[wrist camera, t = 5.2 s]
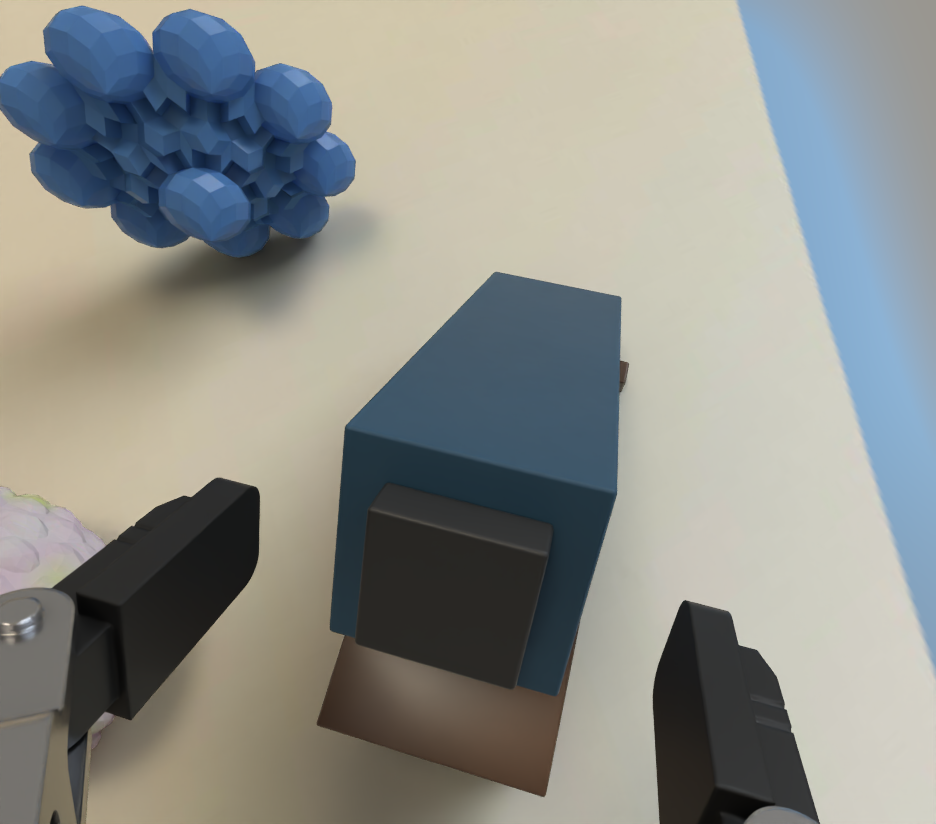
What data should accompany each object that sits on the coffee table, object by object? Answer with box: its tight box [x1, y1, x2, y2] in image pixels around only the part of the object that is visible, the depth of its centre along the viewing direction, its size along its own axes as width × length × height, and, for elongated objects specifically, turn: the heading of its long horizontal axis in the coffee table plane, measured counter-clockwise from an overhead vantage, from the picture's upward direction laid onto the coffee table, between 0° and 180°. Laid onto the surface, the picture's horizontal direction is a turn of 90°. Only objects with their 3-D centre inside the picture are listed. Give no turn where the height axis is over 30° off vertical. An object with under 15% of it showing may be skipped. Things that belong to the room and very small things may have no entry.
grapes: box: [0, 6, 356, 258], centre depth 25 cm, size 12×7×12 cm, turn 105°
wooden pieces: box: [317, 361, 629, 797], centre depth 22 cm, size 15×7×7 cm, turn 165°
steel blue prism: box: [330, 272, 621, 696], centre depth 19 cm, size 14×5×14 cm, turn 165°
